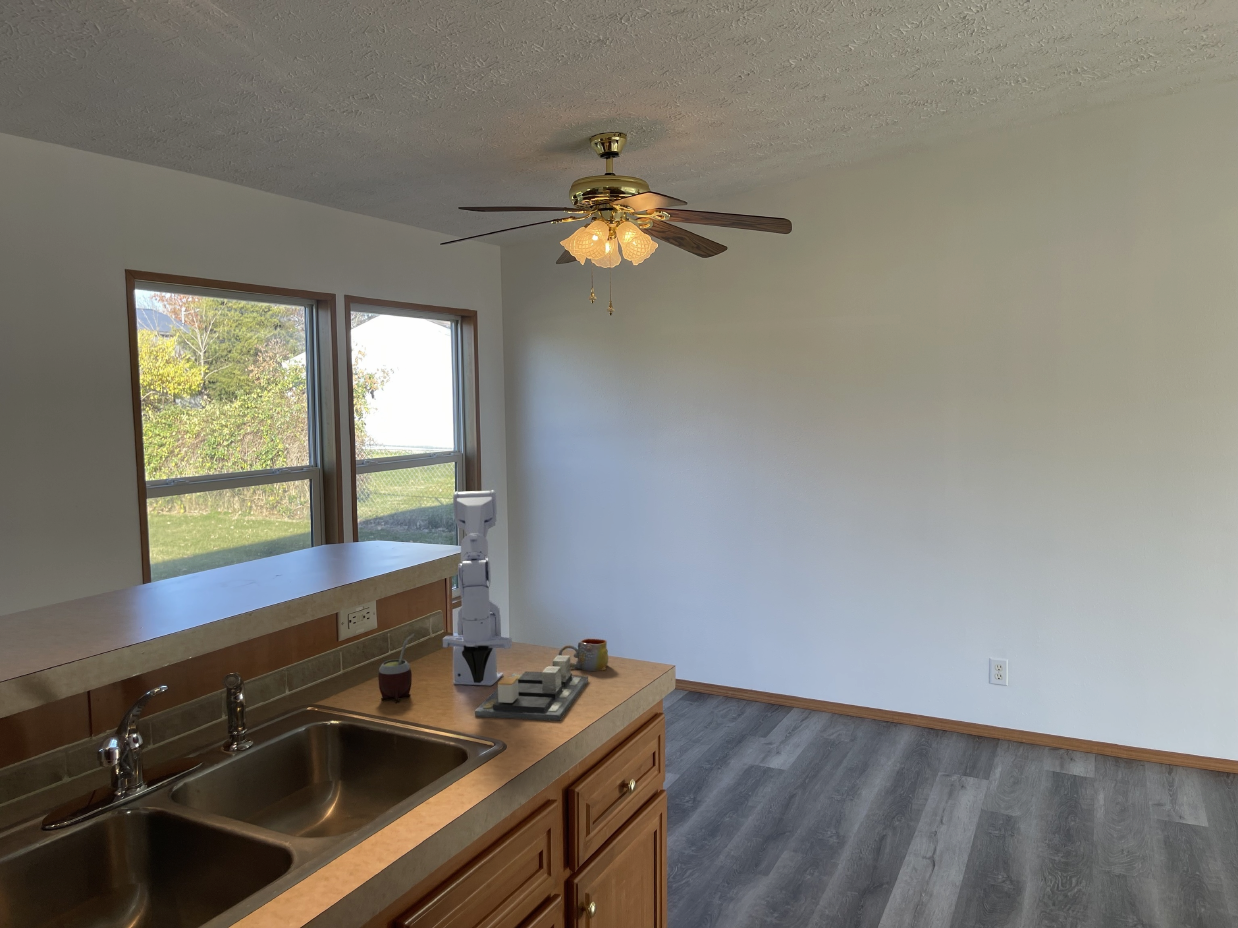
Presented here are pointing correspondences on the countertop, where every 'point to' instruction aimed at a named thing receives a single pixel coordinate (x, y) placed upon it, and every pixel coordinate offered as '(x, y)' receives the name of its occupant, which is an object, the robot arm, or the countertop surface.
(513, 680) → the block
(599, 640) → the mug
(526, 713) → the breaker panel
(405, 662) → the mate gourd
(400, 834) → the countertop surface
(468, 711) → the countertop surface
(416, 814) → the countertop surface
